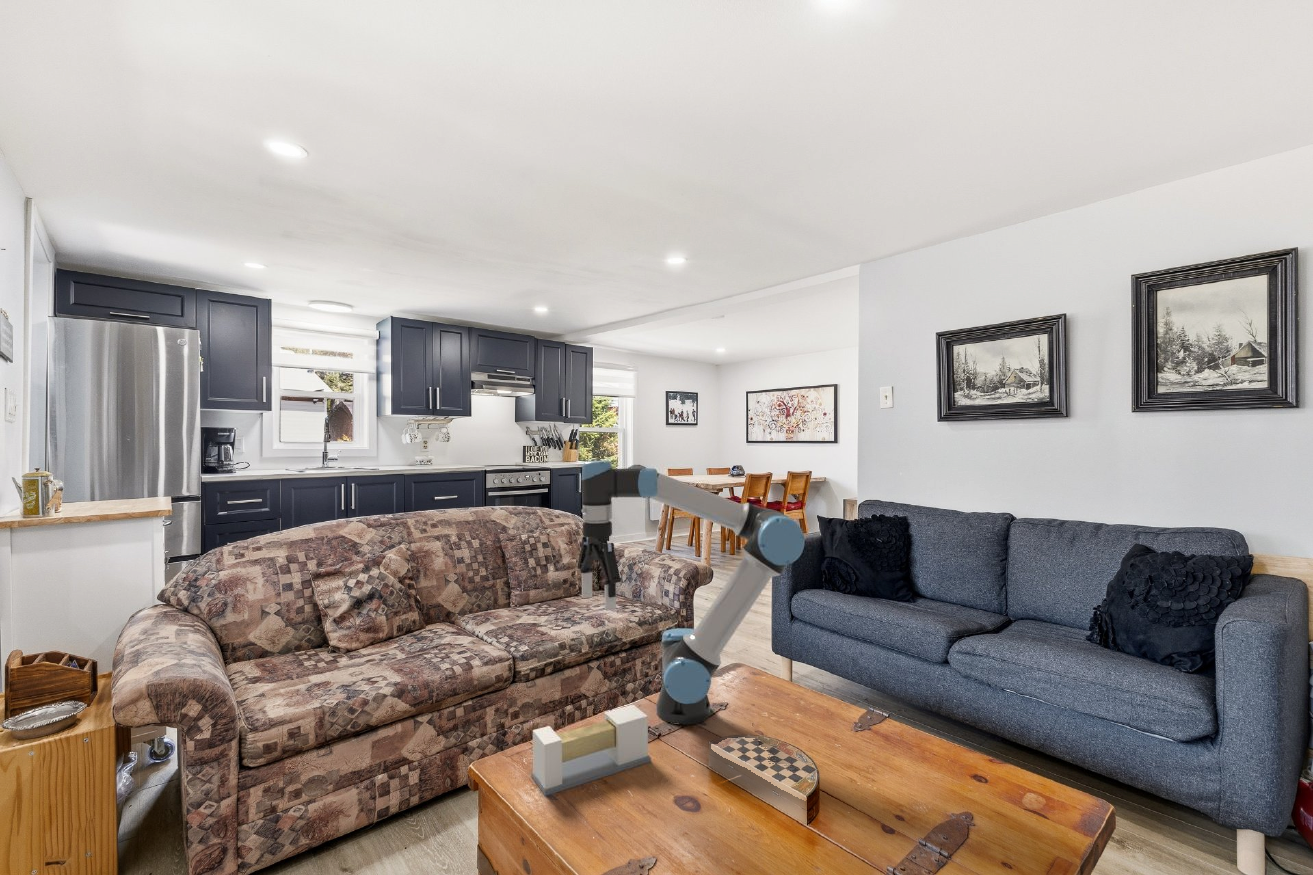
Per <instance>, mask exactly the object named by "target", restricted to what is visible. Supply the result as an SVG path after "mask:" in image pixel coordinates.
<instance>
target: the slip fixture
mask: <svg viewBox="0 0 1313 875" xmlns="http://www.w3.org/2000/svg"><path fill="white" fill-rule="evenodd" d="M603 712H604V711H603ZM603 714H604V716H603V717H604V718H603V719H604V720H603V721H607V720H609V721H610V722H611V723H612V724H613V725H614V726H615V727H616V747H613V748H609V749H606V750H603V751H599V752H596V753H593V754H589V755H586V756H583V757H579V758H576V759H573V760H570V761H566V762H563V763H562V740H561V739H560V737H559V736H558V735H557V734H558V733H556V732H555V731H554V730H553V728H552V727H551V726H550V725H547V726H544V727H540V728H536V729H533V730H532V771H530V772H531V773H530V777H531V778H532V779H533V781H534V783H535V784H536V786H537V787H538V788H539V790H540V792H541V793H542V794H543V795H544V797H546V796H549V795H554V794H556V793H559V792H561V791H565V790H568V789H571V788H573V787H577V786H580V785H584V784H586V783H589V782H592V781H595V780H598V779H601V778H604V777H609V776H610V775H615V774H617V773H621V772H624V771H626V770H630V769H632V768H635V767H637V766H641V765H645V764H648V763H650V762H652V757H651V756H650V754H649V739H648V738H649V726H648V725H649V724H648V723H649V718H648V717H649V716H648V715H647V714H645V713H644V712H643V711H642V710H641V709H639V708H638V707H637V706H636V705H634V704H632V705H631V704H630V705H627V706H624V707H620V708H616V709H612V710H608V711H605V712H604V713H603Z"/></svg>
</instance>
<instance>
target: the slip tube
mask: <svg viewBox="0 0 1313 875" xmlns="http://www.w3.org/2000/svg"><path fill="white" fill-rule="evenodd" d="M556 734H557V735H558V736H559V737H560V739H561V740H562V763H563V762H566V761H570V760H573V759H576V758H579V757H583V756H586V755H589V754H593V753H596V752H599V751H603V750H606V749H609V748H613V747H616V727H615V726H614V725H613V724H612V723H611V722H610V721H609V720H607V721H604V720H603V721H600V722H597V723H593V724H590V725H585V726H582V727H579V728H575V729H571V730H567V731H564V732H560V733H556Z"/></svg>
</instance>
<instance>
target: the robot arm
mask: <svg viewBox="0 0 1313 875" xmlns="http://www.w3.org/2000/svg"><path fill="white" fill-rule="evenodd" d="M581 466H582V468H581V469H582V472H581V473H582V474H581V496H582V509H581V513H582V520H584V521H583V523H582V537H581V547H580V552H579V556H578V561H577V562H578V563H577V566H576V567H577V569H578V570H579V571H580V573H581V598H582V599H586V598H592V597H593V568H592V567H593V565H594V564H595V561H598V562H599V566H600V568H601V570H602V574H603V576H604V579H605V581H604V583H603V585H604V611H611V610H612V611H613V610H617V594H616V593H617V590H616V589H617V586H616V585H617V584H618V583H621V581H622V580H621V576H620V575H621V574H620V571H619V566H618V562H617V557H616V553H615V544H614V543H613V542H608V538H609V537H611V536H612V535H613V522H612V521H611V520H612V519H613V502H612V498H614V499H616V498H643V499H646V498H648V499H651V500H653V501H655V502H658V503H662V504H664V505H666V506H669V507H672V508H675V509H678V510H680V511H682V512H685V513H688V514H689V515H693V516H695V517H698V518H701V519H703V520H705V521H708V522H710V523H713V524H716V525H719V526H721V527H723V528H727V529H729V530H732V531H733V533H734V535H735V536H737V537H740V538H743V539H744V540H747V541H746V542H745V544H744V546H743V547H742V553H743V554H742V555H743V558H742V559H741V561H740V562H739V564H738V565H736V566H737V567H736V568H735V569H734V571H733V573H732V574H731V576H730V577H729V578H728V580H727V581H726V583H725V585H724V586H723V587H722V589H721V590H720V592H719V593H718V594H717V596H716V598H715V599H714V601H713V603H711V605H710V607H709V608H708V610H707V611H706V613H705V614H704V616H703V617H702V618H701V620H700V622H699V623H698V625H697V626H696V628H695V629H694V628H683V627H681V628H671V629H668V630H667V629H666V630H665V631H663V633H662V636H661V638H662V640H661V643H662V644H661V648H662V649H661V651H662V652H661V655H662V658H661V662H662V664H661V665H662V667H661V668H662V670H661V671H662V673H661V674H662V685H661V689H660V692H659V696H658V699H657V702H656V716H657V717H658V719H660V720H662V721H663V722H666V723H668V722H672V723H679V724H683V725H682V726H688V725H689V726H690V725H696V724H699V723H702V722H704V721H706V720H707V719H708V718H710V716H711V703H710V698H709V697H708V694H709V691H710V689H711V685H712V678H713V676H714V675H715V673H716V671H717V670H718V669H719V667H720V666H721V664H722V660H721V653H722V652H723V650H724V648H726V646H727V644H728V643H729V641H730V639H731V638H732V637H733V636H734V634H735V632H736V631H737V629H738V628H739V626H740V625H741V624H742V622H743V620H744V619H745V617H746V616H747V614H748V613H749V612H750V610H751V608H752V607H753V606H754V604H755V602H757V599H758V598H759V596H760V595H761V594H762V592H763V591H764V589H765V588H766V586H767V585H768V583H769V582H770V580H771V578H774V577H777V576H778V577H779V576H781V575H782V574H783V572H784V570H785V569H786V568H787V566H788V565H791V564H793V563H794V562H795V561H797V560H798V559H799V558H800V556H801V555H802V554H803V551H804V548H805V535H804V532H803V530H802V528H801V527H800V525H799V524H798V523H797V521H795V520H794V519H793V518H792V517H789V516H788V515H786V514H784V513H782V512H780V511H778V510H775V509H771V508H766V507H762V506H758V505H755V504H753V503H749V502H745V503H743V504H742V503H739V502H736V501H734V500H731V499H728V498H726V497H723V496H720V495H719V494H716V493H713V492H710V491H708V490H705V489H702V488H699V487H697V486H694V485H692V484H689V483H687V482H684V481H682V480H678V479H676V478H673V477H670V476H669V475H665V474H663V473H660V472H658V470H657V469H656V468H655V467H652V468H651V467H650V468H649V467H646V466H644V465H641V464H632V465H631V466H628V468H627V467H626V468H615V467H613V466H612V463H611V461H609V460H589V461H585V462H583V463H582V465H581ZM672 723H671V724H672Z"/></svg>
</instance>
